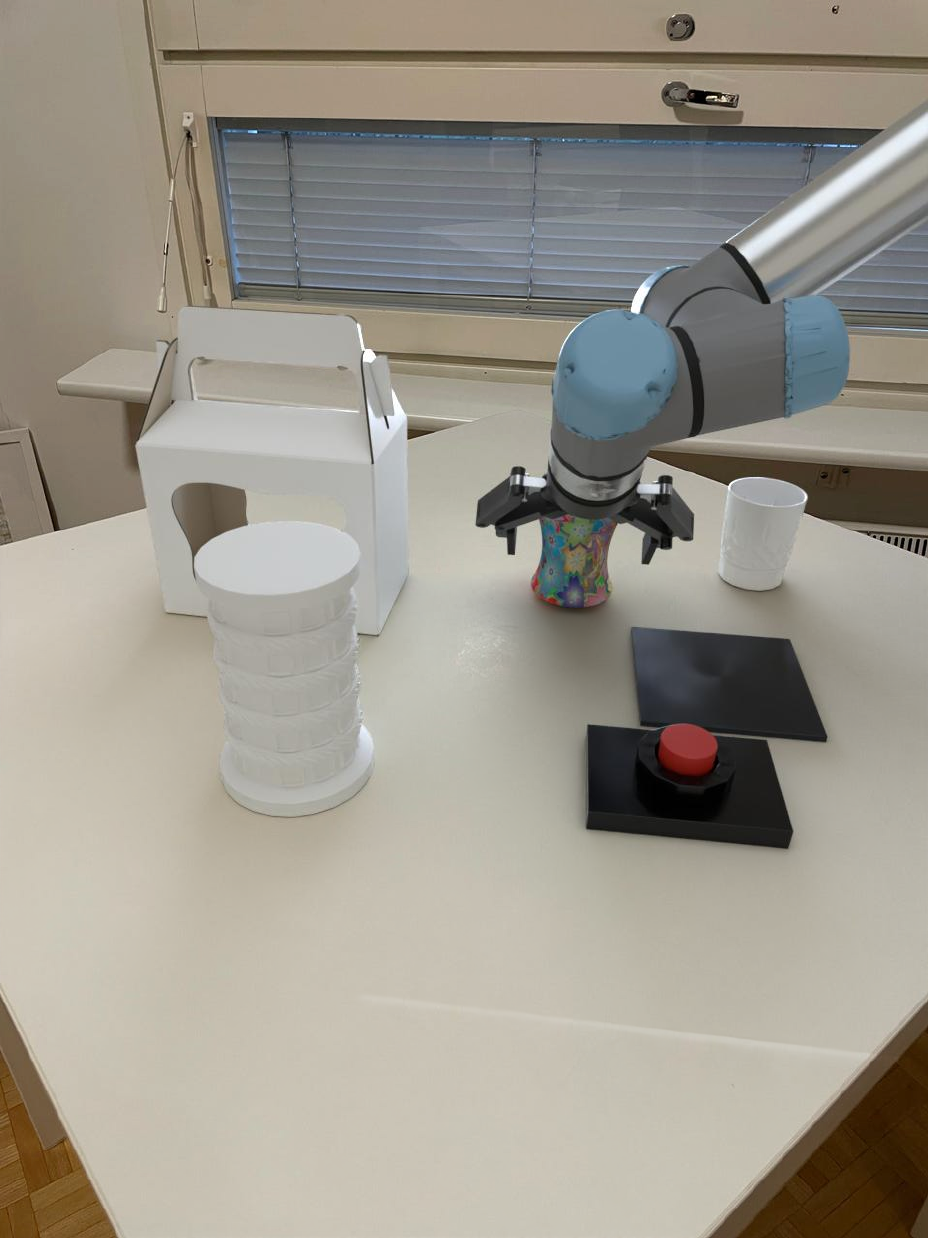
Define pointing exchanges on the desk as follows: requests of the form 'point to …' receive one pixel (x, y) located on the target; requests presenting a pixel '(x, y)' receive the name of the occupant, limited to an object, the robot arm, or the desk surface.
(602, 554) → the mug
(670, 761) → the button
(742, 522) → the white cup
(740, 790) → the control block
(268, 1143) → the desk surface
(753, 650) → the plate
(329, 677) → the decorative container
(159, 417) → the gable box
